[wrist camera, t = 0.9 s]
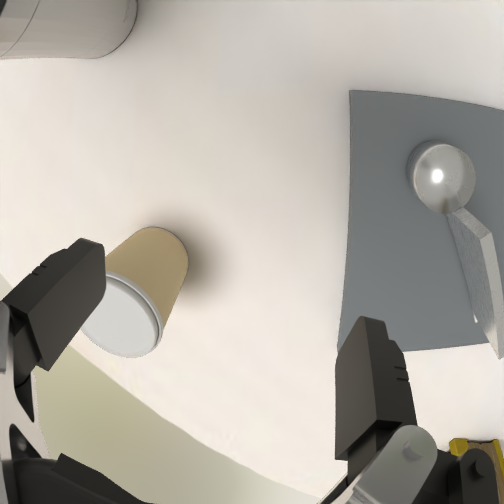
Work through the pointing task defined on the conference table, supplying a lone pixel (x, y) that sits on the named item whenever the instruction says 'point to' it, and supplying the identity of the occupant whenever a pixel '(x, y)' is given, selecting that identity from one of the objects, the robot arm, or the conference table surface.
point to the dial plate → (415, 219)
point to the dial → (462, 228)
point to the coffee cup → (138, 293)
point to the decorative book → (492, 449)
